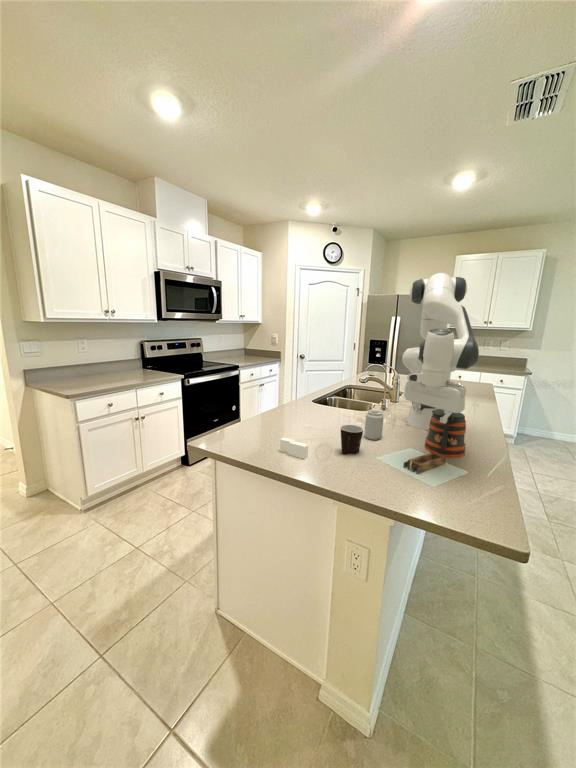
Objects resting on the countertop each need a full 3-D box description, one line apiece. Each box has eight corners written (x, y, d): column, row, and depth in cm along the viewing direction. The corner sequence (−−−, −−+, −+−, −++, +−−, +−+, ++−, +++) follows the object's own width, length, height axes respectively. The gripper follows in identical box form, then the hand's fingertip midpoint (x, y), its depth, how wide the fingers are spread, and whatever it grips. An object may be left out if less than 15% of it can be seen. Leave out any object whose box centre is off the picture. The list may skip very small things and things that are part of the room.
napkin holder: (315, 460, 113) (316, 445, 112) (286, 464, 109) (286, 449, 108) (299, 445, 127) (299, 432, 125) (273, 448, 122) (273, 435, 121)
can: (379, 435, 140) (382, 409, 137) (383, 441, 132) (385, 414, 130) (363, 434, 140) (365, 408, 138) (365, 440, 133) (367, 413, 131)
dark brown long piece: (431, 458, 114) (432, 452, 114) (445, 464, 110) (446, 457, 109) (403, 467, 106) (404, 461, 105) (416, 474, 101) (417, 467, 101)
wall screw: (410, 470, 104) (411, 460, 104) (411, 470, 104) (412, 461, 103) (409, 470, 104) (410, 460, 103) (410, 471, 104) (411, 461, 103)
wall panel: (409, 450, 124) (410, 447, 124) (468, 475, 104) (469, 472, 104) (374, 460, 113) (374, 457, 113) (432, 490, 94) (433, 487, 94)
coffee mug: (347, 446, 125) (348, 423, 123) (365, 453, 119) (367, 428, 117) (329, 454, 117) (331, 429, 115) (348, 462, 111) (350, 435, 109)
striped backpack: (468, 468, 109) (476, 414, 106) (423, 459, 115) (429, 408, 111) (462, 449, 126) (469, 402, 123) (424, 442, 132) (429, 397, 128)
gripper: (472, 383, 95) (465, 426, 97) (414, 373, 112) (410, 409, 114) (460, 385, 91) (454, 429, 94) (403, 374, 108) (399, 412, 111)
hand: (430, 418), depth 104 cm, fingers open, 8 cm apart
